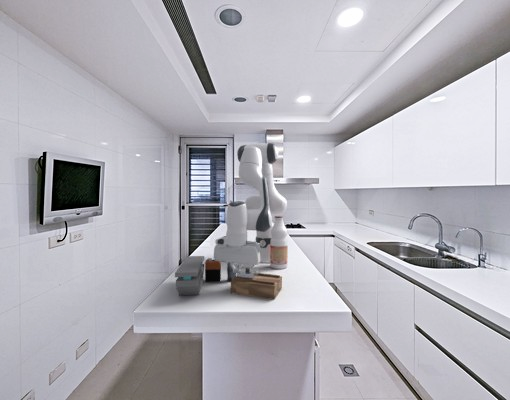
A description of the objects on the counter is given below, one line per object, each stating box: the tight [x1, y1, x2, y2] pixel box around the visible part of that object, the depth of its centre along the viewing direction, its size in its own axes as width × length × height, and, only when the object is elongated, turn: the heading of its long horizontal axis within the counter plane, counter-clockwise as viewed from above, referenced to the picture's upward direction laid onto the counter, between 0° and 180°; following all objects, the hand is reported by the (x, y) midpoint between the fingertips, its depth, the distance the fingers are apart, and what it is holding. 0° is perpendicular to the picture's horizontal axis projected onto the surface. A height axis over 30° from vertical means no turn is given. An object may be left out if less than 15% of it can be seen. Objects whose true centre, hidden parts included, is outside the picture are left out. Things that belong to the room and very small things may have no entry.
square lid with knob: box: [236, 268, 260, 280], centre depth 104 cm, size 7×7×4 cm
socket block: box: [230, 272, 283, 300], centre depth 103 cm, size 12×18×6 cm, turn 71°
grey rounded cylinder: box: [226, 262, 237, 283], centre depth 115 cm, size 4×4×10 cm
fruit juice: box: [269, 215, 289, 270], centre depth 138 cm, size 9×9×28 cm
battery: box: [204, 257, 222, 283], centre depth 115 cm, size 4×7×10 cm, turn 93°
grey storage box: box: [174, 255, 205, 296], centre depth 104 cm, size 25×8×11 cm, turn 5°
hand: (236, 273), depth 106 cm, fingers closed
